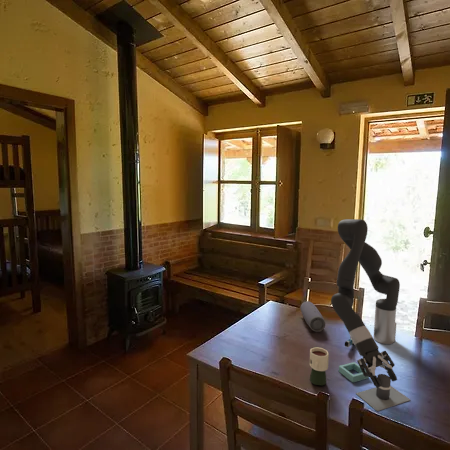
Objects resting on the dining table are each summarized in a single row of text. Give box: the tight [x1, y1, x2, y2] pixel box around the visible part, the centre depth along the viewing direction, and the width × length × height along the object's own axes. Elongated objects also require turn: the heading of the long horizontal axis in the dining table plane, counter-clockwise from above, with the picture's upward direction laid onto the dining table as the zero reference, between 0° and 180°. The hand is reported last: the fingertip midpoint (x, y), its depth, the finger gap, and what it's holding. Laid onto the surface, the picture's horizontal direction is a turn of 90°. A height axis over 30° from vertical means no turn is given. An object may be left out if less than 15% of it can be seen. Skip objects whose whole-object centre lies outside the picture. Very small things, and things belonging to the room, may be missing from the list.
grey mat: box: [355, 385, 411, 412], centre depth 119 cm, size 16×10×1 cm, turn 111°
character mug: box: [309, 347, 330, 386], centre depth 127 cm, size 11×7×13 cm, turn 153°
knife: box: [344, 337, 354, 348], centre depth 161 cm, size 31×3×4 cm, turn 137°
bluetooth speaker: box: [299, 300, 326, 333], centre depth 179 cm, size 23×9×10 cm, turn 179°
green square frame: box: [338, 361, 370, 383], centre depth 133 cm, size 8×8×2 cm
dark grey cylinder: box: [376, 373, 392, 400], centre depth 119 cm, size 5×5×8 cm
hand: (387, 383), depth 117 cm, fingers open, 8 cm apart
